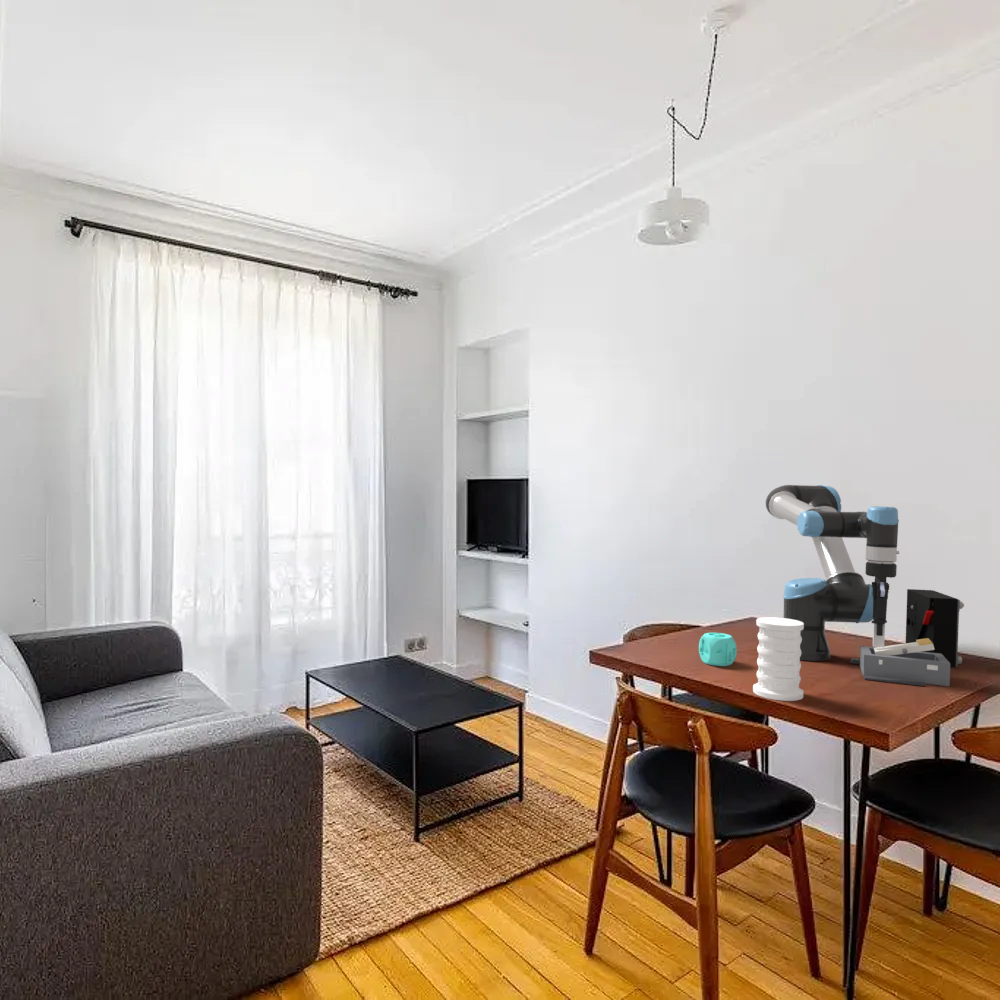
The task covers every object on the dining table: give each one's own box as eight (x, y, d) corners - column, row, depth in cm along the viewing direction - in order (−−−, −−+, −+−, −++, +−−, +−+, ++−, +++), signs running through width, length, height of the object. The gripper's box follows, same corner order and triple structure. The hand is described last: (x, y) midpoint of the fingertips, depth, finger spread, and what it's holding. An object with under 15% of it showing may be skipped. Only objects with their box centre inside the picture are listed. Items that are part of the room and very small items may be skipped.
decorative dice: (710, 666, 196) (711, 638, 196) (698, 659, 204) (698, 632, 204) (736, 666, 197) (737, 638, 197) (723, 659, 205) (724, 632, 205)
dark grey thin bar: (864, 679, 185) (864, 676, 185) (864, 678, 186) (864, 675, 186) (925, 686, 180) (925, 683, 180) (924, 685, 180) (924, 682, 180)
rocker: (877, 657, 189) (875, 650, 190) (874, 652, 195) (872, 645, 195) (935, 650, 184) (932, 642, 184) (930, 645, 190) (928, 637, 190)
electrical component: (964, 668, 200) (966, 599, 199) (925, 665, 202) (927, 597, 201) (938, 654, 217) (940, 590, 217) (902, 651, 219) (904, 589, 219)
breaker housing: (863, 676, 188) (864, 654, 188) (859, 666, 199) (860, 645, 199) (949, 686, 180) (950, 663, 180) (940, 675, 191) (941, 653, 191)
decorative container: (767, 684, 179) (769, 615, 179) (811, 695, 170) (814, 622, 170) (744, 692, 171) (746, 620, 171) (789, 704, 163) (791, 628, 162)
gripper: (899, 565, 184) (896, 653, 185) (893, 560, 196) (890, 643, 197) (868, 563, 187) (865, 649, 188) (863, 559, 199) (861, 640, 200)
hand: (878, 646), depth 192 cm, fingers closed
